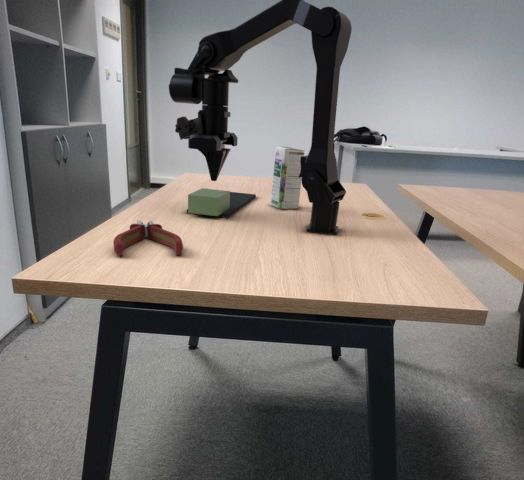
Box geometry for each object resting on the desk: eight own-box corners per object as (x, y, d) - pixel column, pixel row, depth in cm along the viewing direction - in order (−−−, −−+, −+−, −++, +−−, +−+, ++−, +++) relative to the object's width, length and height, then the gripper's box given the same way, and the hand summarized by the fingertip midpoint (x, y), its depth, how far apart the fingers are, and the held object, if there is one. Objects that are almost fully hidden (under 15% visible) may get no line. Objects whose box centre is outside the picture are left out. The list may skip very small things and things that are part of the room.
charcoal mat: (227, 217, 108) (228, 214, 108) (186, 213, 110) (186, 209, 109) (255, 197, 134) (255, 194, 134) (221, 193, 136) (222, 190, 136)
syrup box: (269, 205, 125) (274, 146, 119) (289, 204, 128) (294, 146, 121) (279, 209, 121) (284, 148, 114) (299, 209, 123) (305, 149, 116)
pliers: (173, 227, 96) (173, 214, 95) (184, 256, 79) (184, 241, 78) (115, 227, 94) (114, 214, 92) (113, 257, 76) (112, 241, 75)
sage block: (218, 197, 103) (230, 191, 112) (187, 194, 105) (202, 188, 113) (217, 216, 105) (229, 208, 114) (188, 212, 106) (201, 205, 115)
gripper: (193, 103, 112) (194, 173, 119) (163, 102, 96) (166, 182, 103) (239, 107, 111) (236, 177, 118) (216, 106, 94) (214, 187, 101)
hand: (213, 180), depth 110 cm, fingers closed
